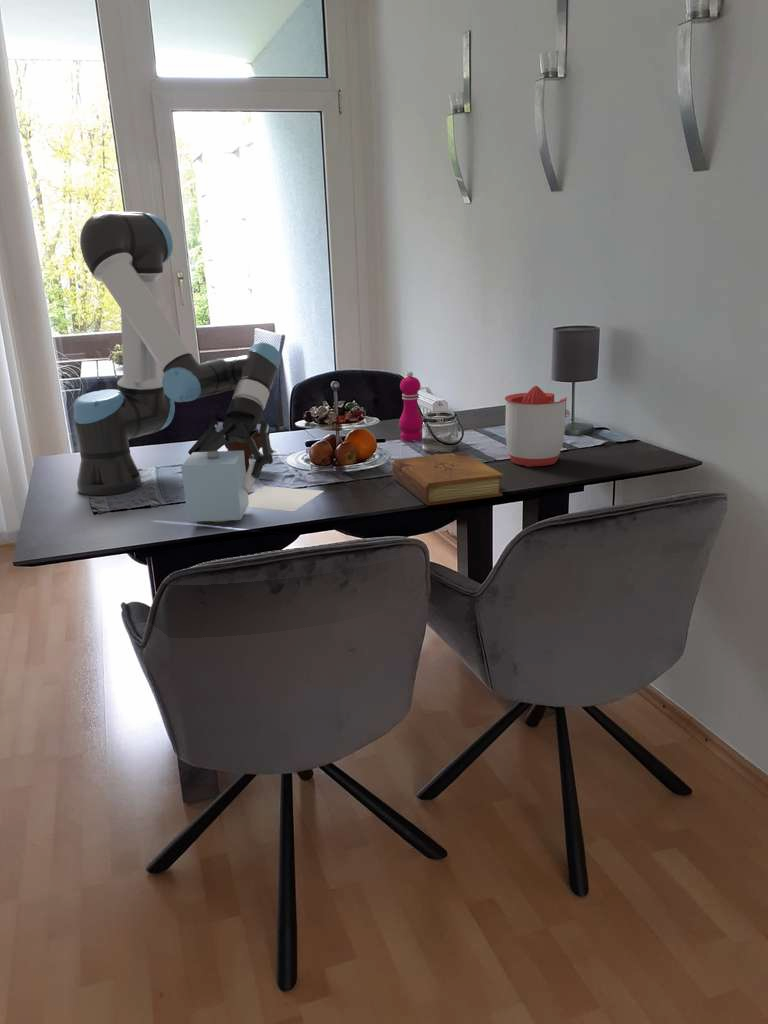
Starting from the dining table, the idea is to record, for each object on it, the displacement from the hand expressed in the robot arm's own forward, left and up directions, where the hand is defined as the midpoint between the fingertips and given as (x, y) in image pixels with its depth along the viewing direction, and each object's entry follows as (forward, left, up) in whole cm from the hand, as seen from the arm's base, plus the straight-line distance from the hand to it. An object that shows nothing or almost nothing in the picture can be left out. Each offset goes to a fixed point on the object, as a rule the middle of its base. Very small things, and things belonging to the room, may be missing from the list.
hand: (219, 488), depth 173 cm
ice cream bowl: (-31, +24, -7) cm, 39 cm away
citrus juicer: (+17, +83, -7) cm, 85 cm away
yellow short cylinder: (+1, -1, -7) cm, 7 cm away
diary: (+17, +50, -7) cm, 53 cm away
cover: (+2, -1, -5) cm, 5 cm away
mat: (-3, +16, -7) cm, 18 cm away
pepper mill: (-27, +78, -7) cm, 83 cm away
